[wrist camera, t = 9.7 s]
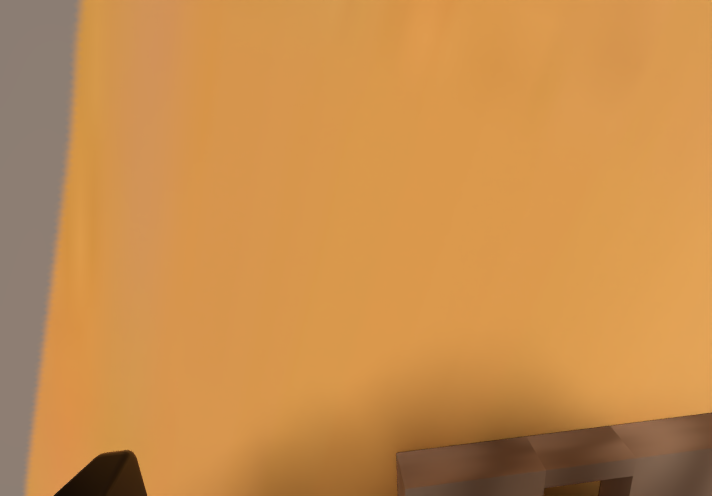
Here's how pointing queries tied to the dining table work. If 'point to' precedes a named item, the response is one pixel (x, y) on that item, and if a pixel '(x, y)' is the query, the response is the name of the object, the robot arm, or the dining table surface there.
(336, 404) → the dining table surface
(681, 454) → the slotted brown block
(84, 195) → the dining table surface
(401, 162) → the dining table surface
